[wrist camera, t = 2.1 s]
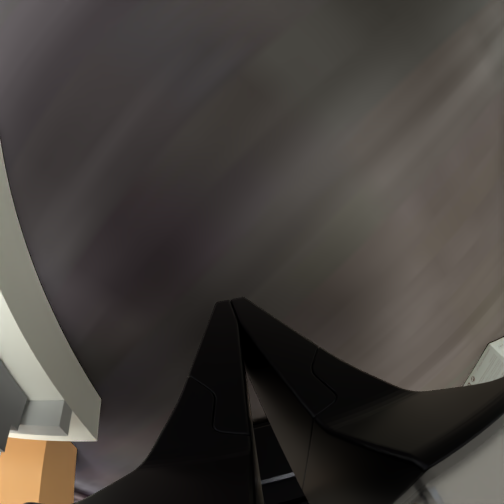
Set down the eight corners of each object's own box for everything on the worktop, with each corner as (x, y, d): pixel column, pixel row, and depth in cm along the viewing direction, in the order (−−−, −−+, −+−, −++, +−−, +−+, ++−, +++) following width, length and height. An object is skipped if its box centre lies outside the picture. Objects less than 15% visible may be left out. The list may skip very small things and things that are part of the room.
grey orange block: (77, 448, 17) (74, 552, 9) (37, 446, 16) (28, 541, 8) (50, 419, 15) (37, 536, 7) (10, 418, 14) (-10, 522, 6)
